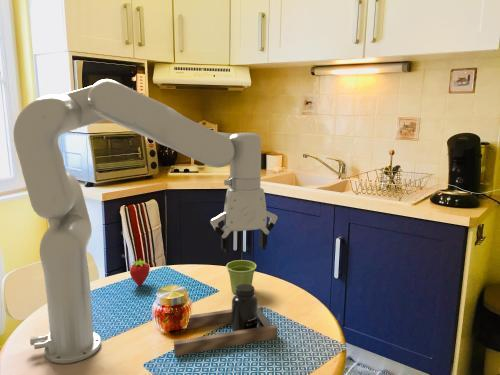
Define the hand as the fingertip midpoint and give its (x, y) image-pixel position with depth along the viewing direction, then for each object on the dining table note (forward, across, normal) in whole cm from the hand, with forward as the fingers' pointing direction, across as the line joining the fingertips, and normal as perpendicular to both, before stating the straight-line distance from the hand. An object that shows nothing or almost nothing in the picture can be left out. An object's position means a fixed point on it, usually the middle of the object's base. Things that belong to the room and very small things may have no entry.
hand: (244, 249), depth 108 cm
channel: (+22, -6, 0) cm, 23 cm away
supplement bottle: (+22, 0, 0) cm, 23 cm away
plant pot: (+22, +6, +22) cm, 32 cm away
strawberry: (+23, -24, +35) cm, 48 cm away
